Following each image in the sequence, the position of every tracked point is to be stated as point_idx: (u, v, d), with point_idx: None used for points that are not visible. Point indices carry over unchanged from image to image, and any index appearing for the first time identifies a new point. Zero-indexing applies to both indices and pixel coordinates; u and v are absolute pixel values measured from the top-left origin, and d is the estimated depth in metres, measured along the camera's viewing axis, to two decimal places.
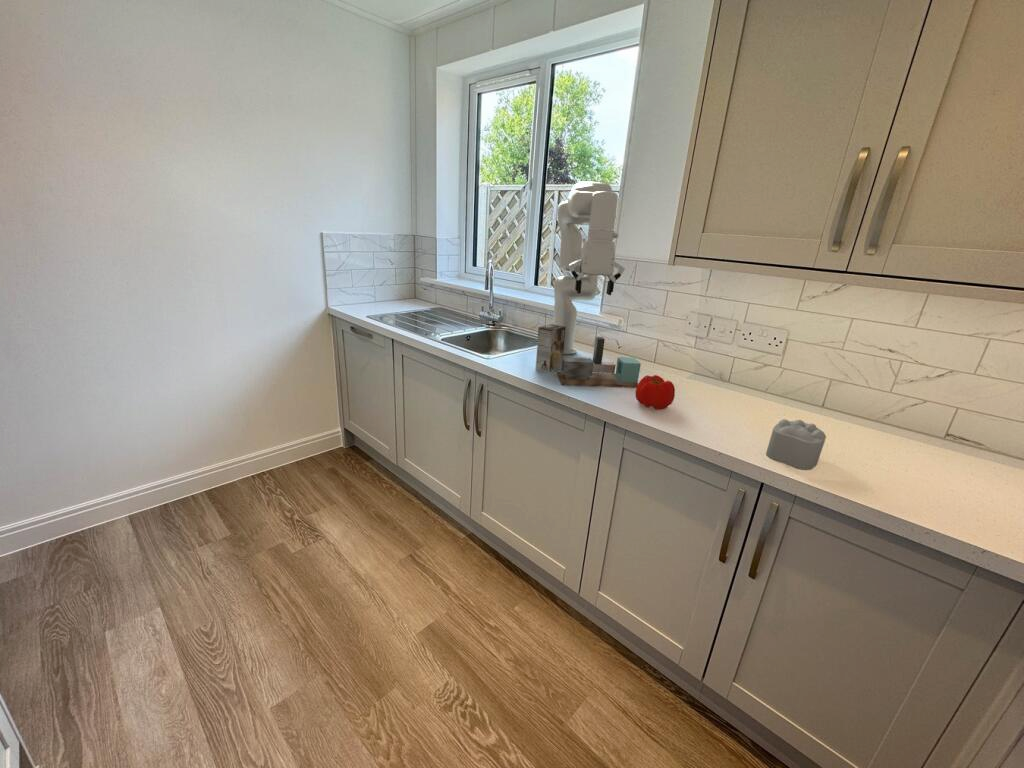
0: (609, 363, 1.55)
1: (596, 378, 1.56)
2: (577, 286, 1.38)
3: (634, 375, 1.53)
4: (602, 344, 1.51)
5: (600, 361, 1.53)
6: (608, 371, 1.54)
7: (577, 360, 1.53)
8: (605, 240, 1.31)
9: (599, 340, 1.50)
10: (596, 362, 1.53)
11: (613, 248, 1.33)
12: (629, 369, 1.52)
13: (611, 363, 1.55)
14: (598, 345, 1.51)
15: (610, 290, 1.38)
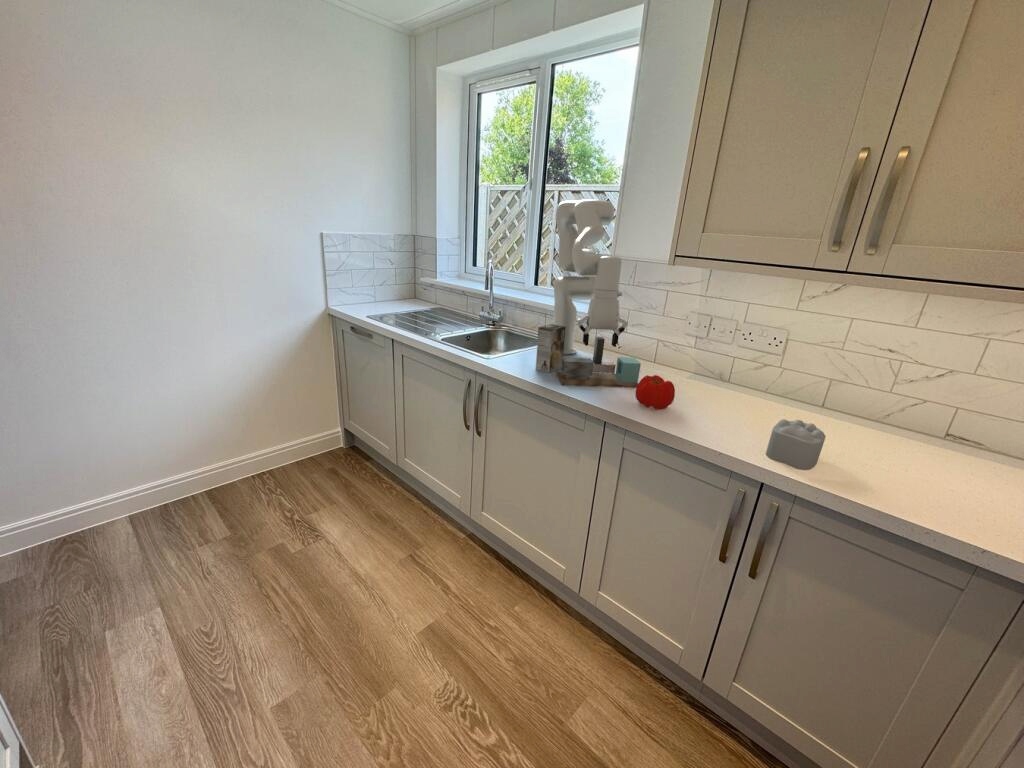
0: (609, 363, 1.55)
1: (596, 378, 1.56)
2: (585, 339, 1.50)
3: (634, 375, 1.53)
4: (602, 344, 1.51)
5: (600, 361, 1.53)
6: (608, 371, 1.54)
7: (577, 360, 1.53)
8: (610, 299, 1.44)
9: (599, 340, 1.50)
10: (596, 362, 1.53)
11: (617, 306, 1.46)
12: (629, 369, 1.52)
13: (611, 363, 1.55)
14: (598, 345, 1.51)
15: (615, 342, 1.51)
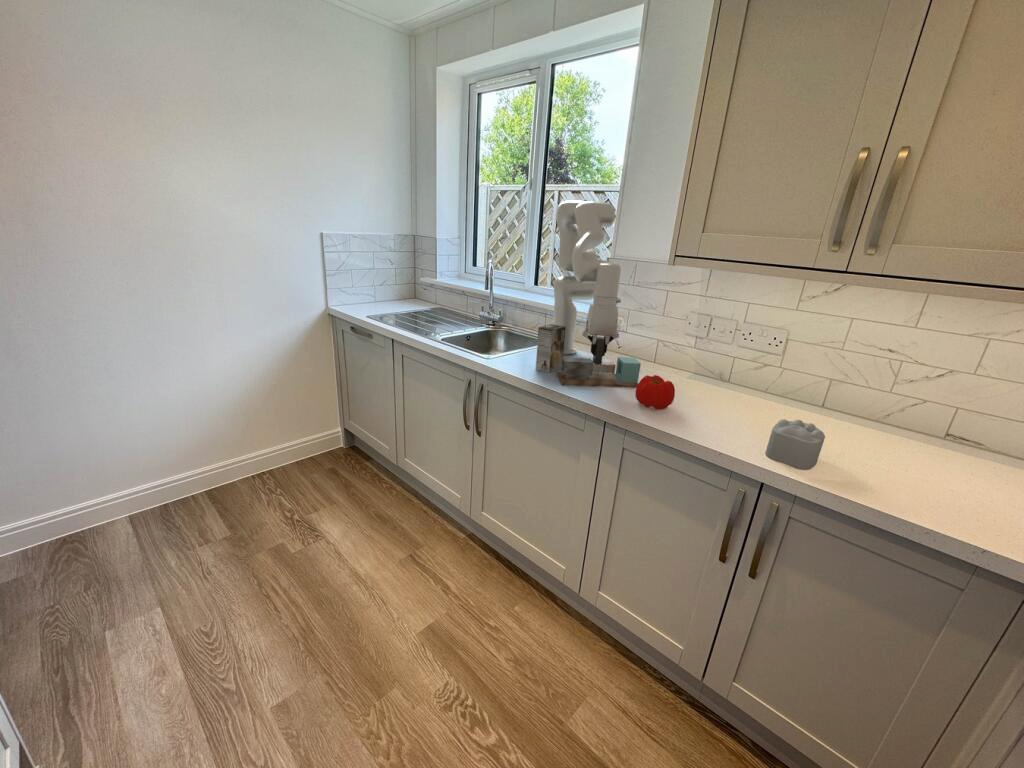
0: (609, 363, 1.55)
1: (596, 378, 1.56)
2: (592, 349, 1.52)
3: (634, 375, 1.53)
4: (602, 344, 1.51)
5: (600, 361, 1.53)
6: (608, 371, 1.54)
7: (577, 360, 1.53)
8: (609, 306, 1.45)
9: (599, 340, 1.50)
10: (596, 362, 1.53)
11: (616, 312, 1.47)
12: (629, 369, 1.52)
13: (611, 363, 1.55)
14: (598, 345, 1.51)
15: (604, 352, 1.52)
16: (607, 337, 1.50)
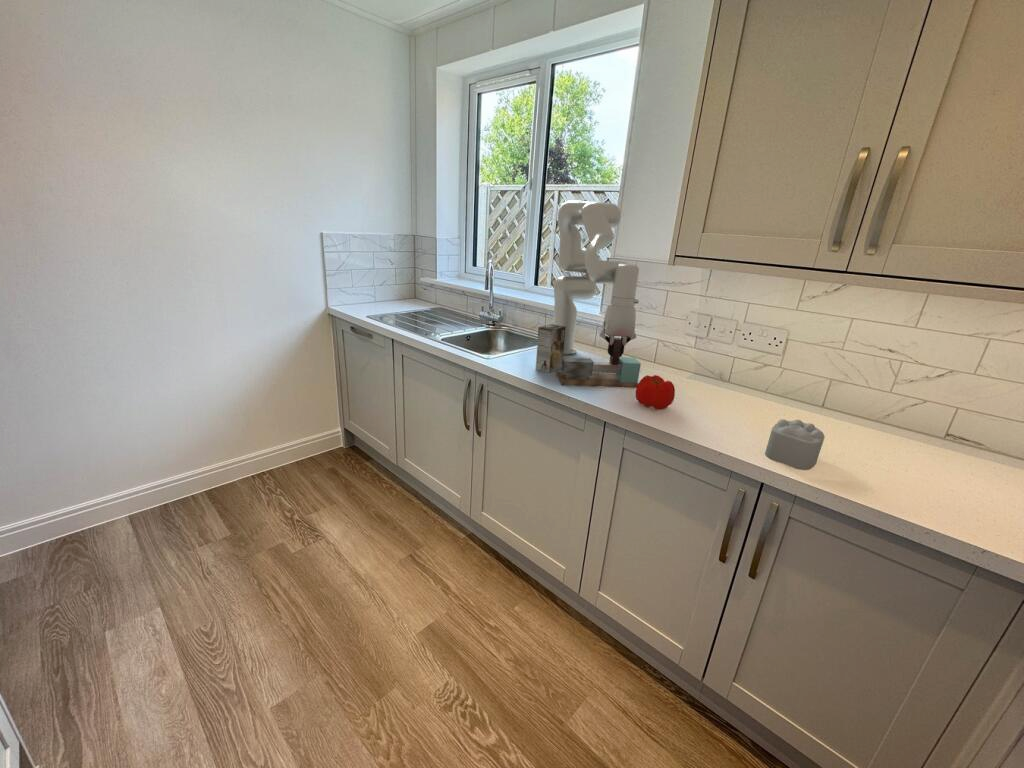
0: None
1: (596, 378, 1.56)
2: (610, 350, 1.53)
3: (634, 375, 1.53)
4: (619, 345, 1.51)
5: (617, 362, 1.53)
6: None
7: (577, 360, 1.53)
8: (627, 307, 1.45)
9: (616, 341, 1.51)
10: (613, 363, 1.54)
11: (634, 313, 1.47)
12: (629, 369, 1.52)
13: None
14: (615, 346, 1.51)
15: (621, 352, 1.52)
16: (624, 338, 1.51)
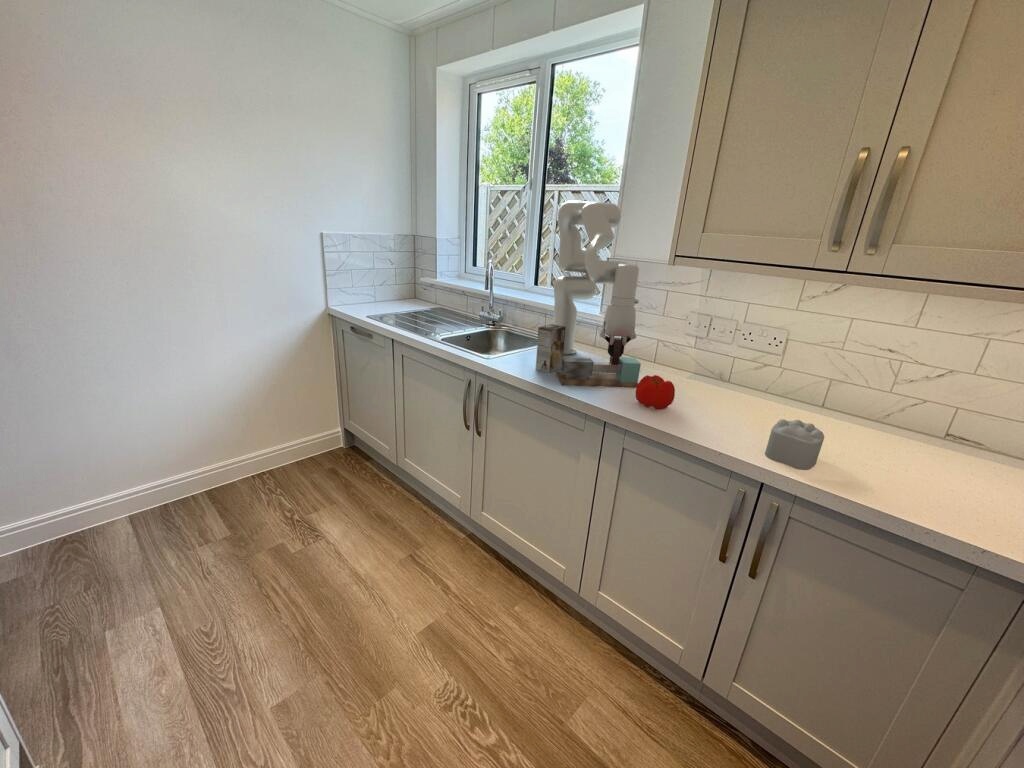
0: None
1: (596, 378, 1.56)
2: (610, 350, 1.53)
3: (634, 375, 1.53)
4: (619, 345, 1.51)
5: (617, 362, 1.53)
6: None
7: (577, 360, 1.53)
8: (627, 307, 1.45)
9: (616, 341, 1.51)
10: (613, 363, 1.54)
11: (634, 313, 1.47)
12: (629, 369, 1.52)
13: None
14: (615, 346, 1.51)
15: (621, 352, 1.52)
16: (624, 338, 1.51)
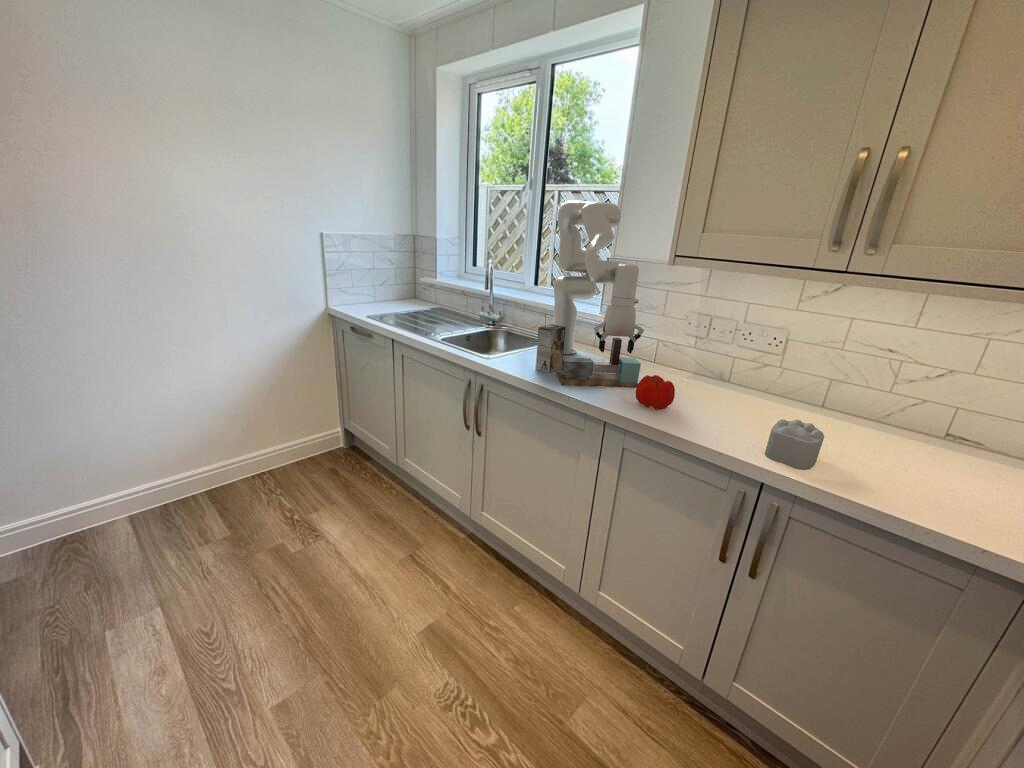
0: None
1: (596, 378, 1.56)
2: (601, 345, 1.52)
3: (634, 375, 1.53)
4: (619, 345, 1.51)
5: (617, 362, 1.53)
6: None
7: (577, 360, 1.53)
8: (627, 307, 1.45)
9: (616, 341, 1.51)
10: (613, 363, 1.54)
11: (634, 313, 1.47)
12: (629, 369, 1.52)
13: None
14: (615, 346, 1.51)
15: (631, 349, 1.52)
16: (631, 336, 1.51)
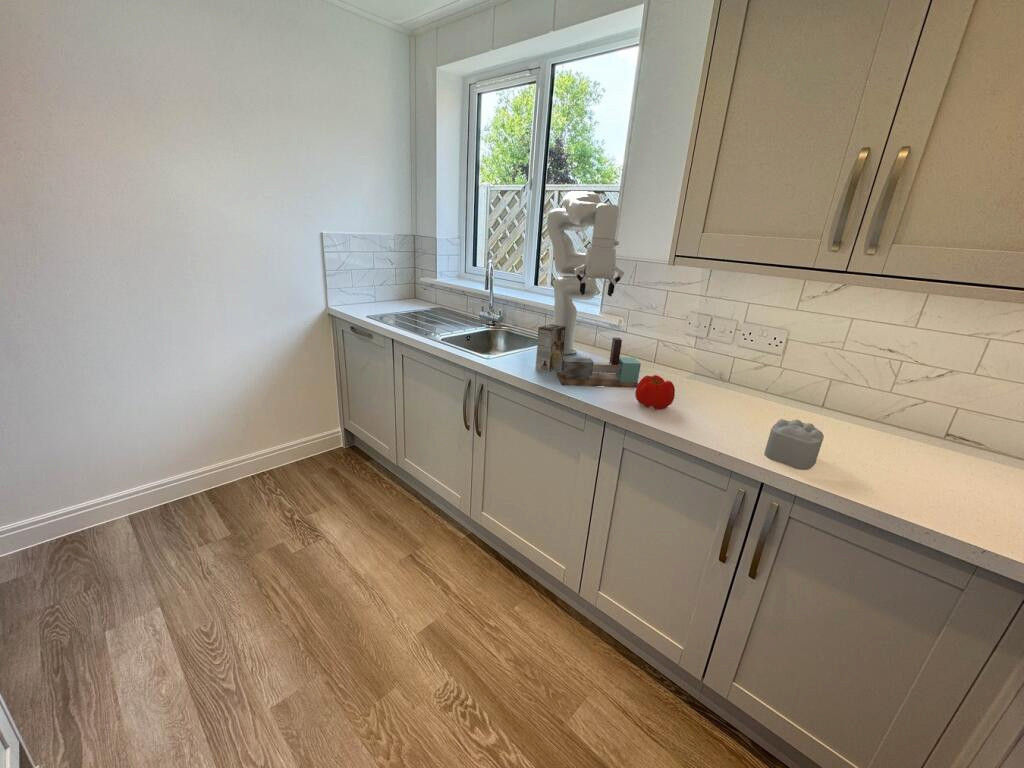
0: None
1: (596, 378, 1.56)
2: (581, 288, 1.53)
3: (634, 375, 1.53)
4: (619, 345, 1.51)
5: (617, 362, 1.53)
6: None
7: (577, 360, 1.53)
8: (607, 248, 1.46)
9: (616, 341, 1.51)
10: (613, 363, 1.54)
11: (614, 254, 1.49)
12: (629, 369, 1.52)
13: None
14: (615, 346, 1.51)
15: (611, 292, 1.54)
16: (611, 278, 1.52)
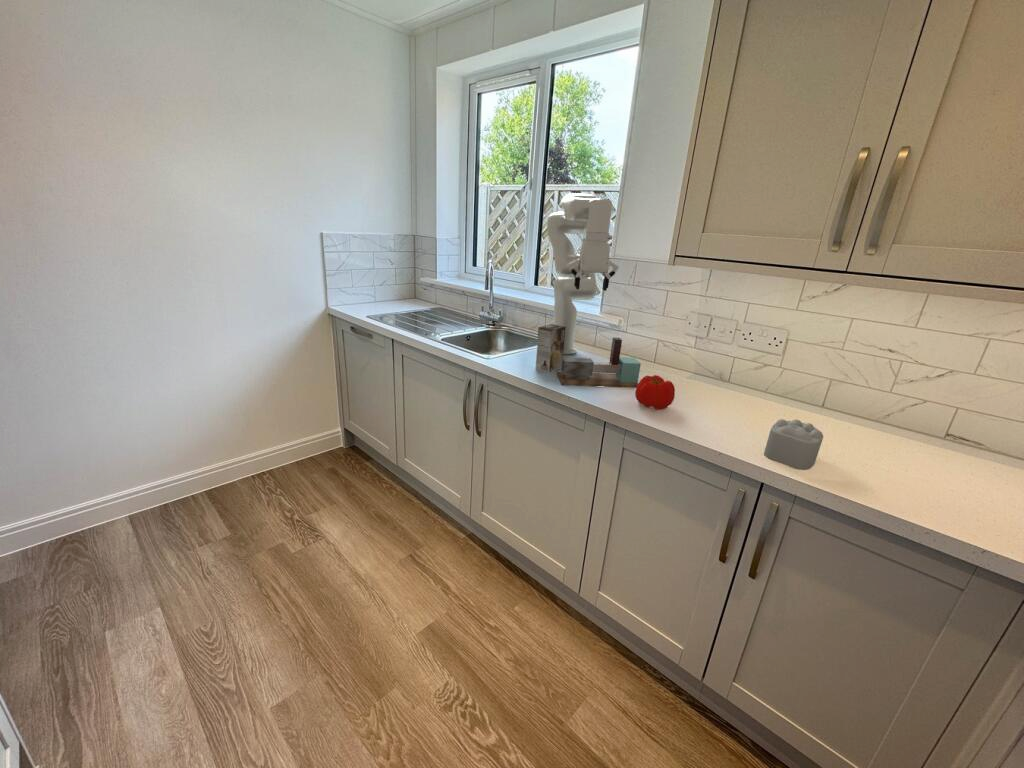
0: None
1: (596, 378, 1.56)
2: (576, 282, 1.54)
3: (634, 375, 1.53)
4: (619, 345, 1.51)
5: (617, 362, 1.53)
6: None
7: (577, 360, 1.53)
8: (601, 241, 1.47)
9: (616, 341, 1.51)
10: (613, 363, 1.54)
11: (608, 249, 1.50)
12: (629, 369, 1.52)
13: None
14: (615, 346, 1.51)
15: (605, 286, 1.54)
16: (605, 272, 1.53)
